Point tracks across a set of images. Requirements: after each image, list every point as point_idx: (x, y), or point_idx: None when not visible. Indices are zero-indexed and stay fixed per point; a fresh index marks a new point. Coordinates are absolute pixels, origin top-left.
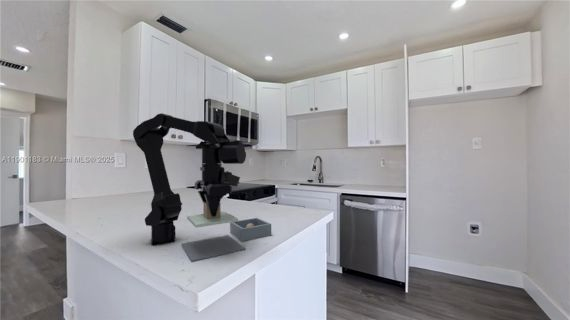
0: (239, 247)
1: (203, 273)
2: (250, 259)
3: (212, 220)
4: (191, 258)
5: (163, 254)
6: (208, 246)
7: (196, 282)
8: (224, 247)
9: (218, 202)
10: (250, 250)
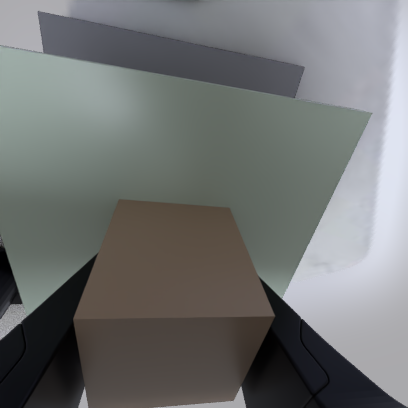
0: (276, 83)
1: (317, 239)
2: (375, 106)
3: (258, 266)
4: None
5: None
6: None
7: (336, 258)
8: None
9: (331, 361)
10: (320, 46)
